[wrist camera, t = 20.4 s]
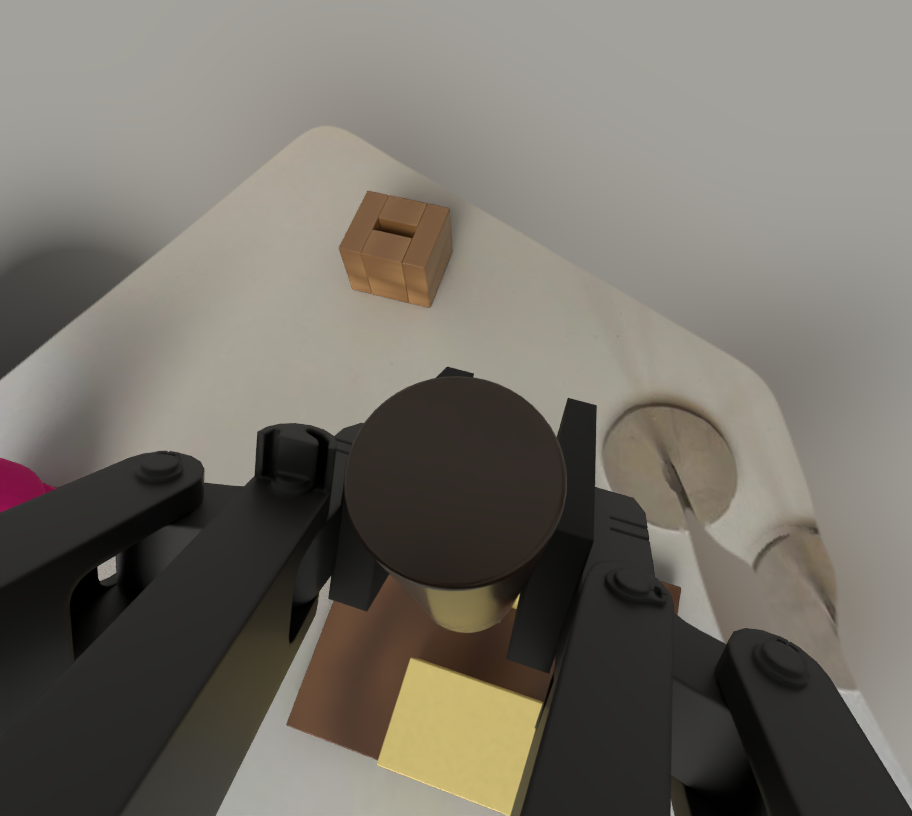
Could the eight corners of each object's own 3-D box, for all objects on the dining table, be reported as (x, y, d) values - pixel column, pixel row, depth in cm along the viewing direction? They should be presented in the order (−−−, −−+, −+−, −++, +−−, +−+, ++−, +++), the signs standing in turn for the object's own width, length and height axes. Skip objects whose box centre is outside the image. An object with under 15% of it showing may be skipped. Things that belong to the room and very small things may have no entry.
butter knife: (513, 583, 21) (588, 403, 7) (494, 655, 20) (536, 624, 6) (448, 563, 22) (388, 352, 7) (426, 632, 21) (305, 548, 6)
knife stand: (452, 251, 47) (449, 207, 42) (430, 308, 45) (424, 268, 40) (377, 234, 48) (367, 190, 44) (351, 289, 46) (338, 248, 41)
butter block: (551, 704, 31) (561, 710, 28) (529, 807, 29) (537, 827, 26) (417, 658, 33) (410, 657, 29) (388, 753, 31) (376, 765, 27)
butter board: (673, 590, 35) (681, 587, 34) (635, 853, 30) (642, 862, 28) (378, 500, 38) (374, 494, 37) (293, 722, 33) (285, 725, 31)
